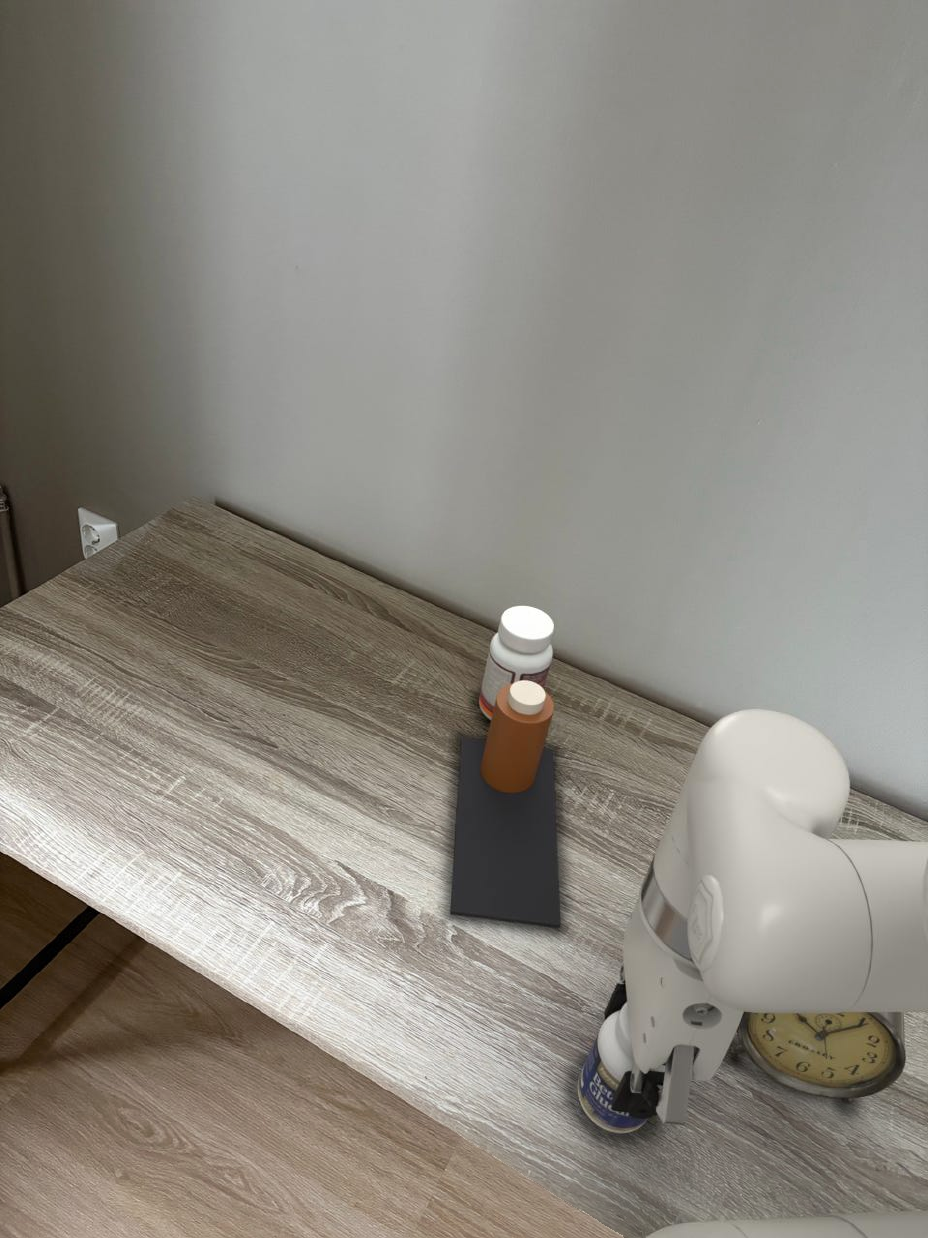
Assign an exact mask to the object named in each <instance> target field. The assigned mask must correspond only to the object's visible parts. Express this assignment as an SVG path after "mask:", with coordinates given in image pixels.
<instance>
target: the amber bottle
mask: <svg viewBox="0 0 928 1238" xmlns="http://www.w3.org/2000/svg"><path fill="white" fill-rule="evenodd" d="M554 711H555V703H554V700H553V699H552V697H551V696H550V694H548V692H546V691H545V688H544V689H543V688H542V687H541V686H540V685H538V684H537V683H534V682H532V681H526V680H522V681H517V682H515V683H512V684H509V685H506V686H504V687H503V688H502V689H500V691H499V692H498V694H497V697H496V701H495V706H494V710H493V714H492V719H491V720H490V723H489V727H488V733H487V737H486V740H487V741H486V745H485V749H484V754H483V758H482V762H481V767H480V770H481V775H482V777H483V779H484V780H485V781H486V782H487V783H488V784H489V785H490V786H491V787H493V788H494V789H497V790H499V791H502V792H506V793H518V792H522V791H525V790H526V789H528V788H529V787H530V786H531V785H532V784H533V782H534V780H535V776H536V772H537V769H538V765H539V762H540V758H541V755H542V751H543V748H545V744H546V740H547V736H548V733H549V730H550V726H551V722H552V719H553V715H554Z"/></svg>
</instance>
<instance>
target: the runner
mask: <svg viewBox="0 0 928 1238" xmlns="http://www.w3.org/2000/svg"><path fill="white" fill-rule="evenodd" d="M486 741H487V739H479V738H473V737H467V736H466V737H465V736H461V739H460V752H459V753H460V754H459V767H458V768H459V769H458V784H457V785H458V786H457V801H456V816H455V817H456V818H455V830H454V831H455V833H454V847H453V848H454V850H453V864H452V880H451V881H452V882H451V896H450V897H451V898H450V910H449V911H450V912H449V913H450V915H455V916H461V917H469V918H477V919H484V920H493V921H502V922H507V923H517V924H524V925H533V926H540V927H548V928H557V929H560V927H561V911H560V910H561V908H560V907H561V905H560V881H559V879H560V878H559V857H558V831H557V811H556V807H557V806H556V785H555V764H554V763H555V761H554V749H552V748H545V747H544V748H543V751H542V755H541V758H540V762H539V765H538V769H537V772H536V776H535V780H534V782H533V784H532V785H531V786H530V787H529V788H528V789H526V790H525V791H522V792H518V793H506V792H502V791H499V790H497V789H494V788H493V787H491V786H490V785H489V784H488V783H487V782H486V781H485V780H484V779H483V777H482V775H481V770H480V767H481V762H482V758H483V754H484V749H485V745H486Z"/></svg>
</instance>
